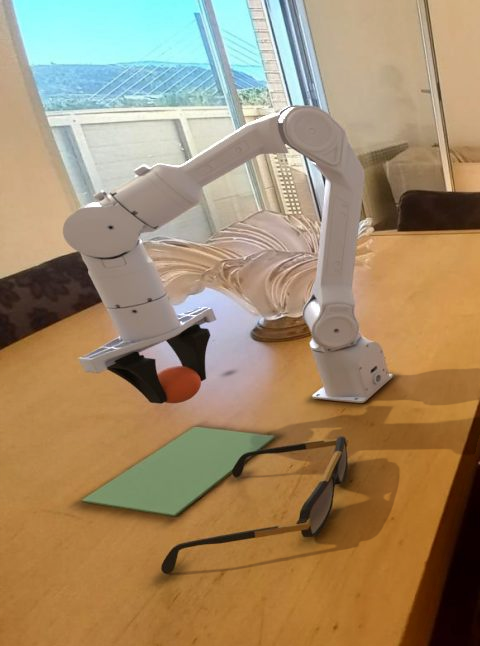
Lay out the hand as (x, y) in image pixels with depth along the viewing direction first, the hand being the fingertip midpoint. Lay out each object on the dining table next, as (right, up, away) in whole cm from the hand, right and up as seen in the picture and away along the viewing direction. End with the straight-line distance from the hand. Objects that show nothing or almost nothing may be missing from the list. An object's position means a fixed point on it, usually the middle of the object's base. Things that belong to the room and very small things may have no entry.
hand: (179, 389), depth 65 cm
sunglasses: (+20, -13, -9) cm, 25 cm away
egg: (0, +1, 0) cm, 1 cm away
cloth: (+3, -10, -2) cm, 10 cm away
